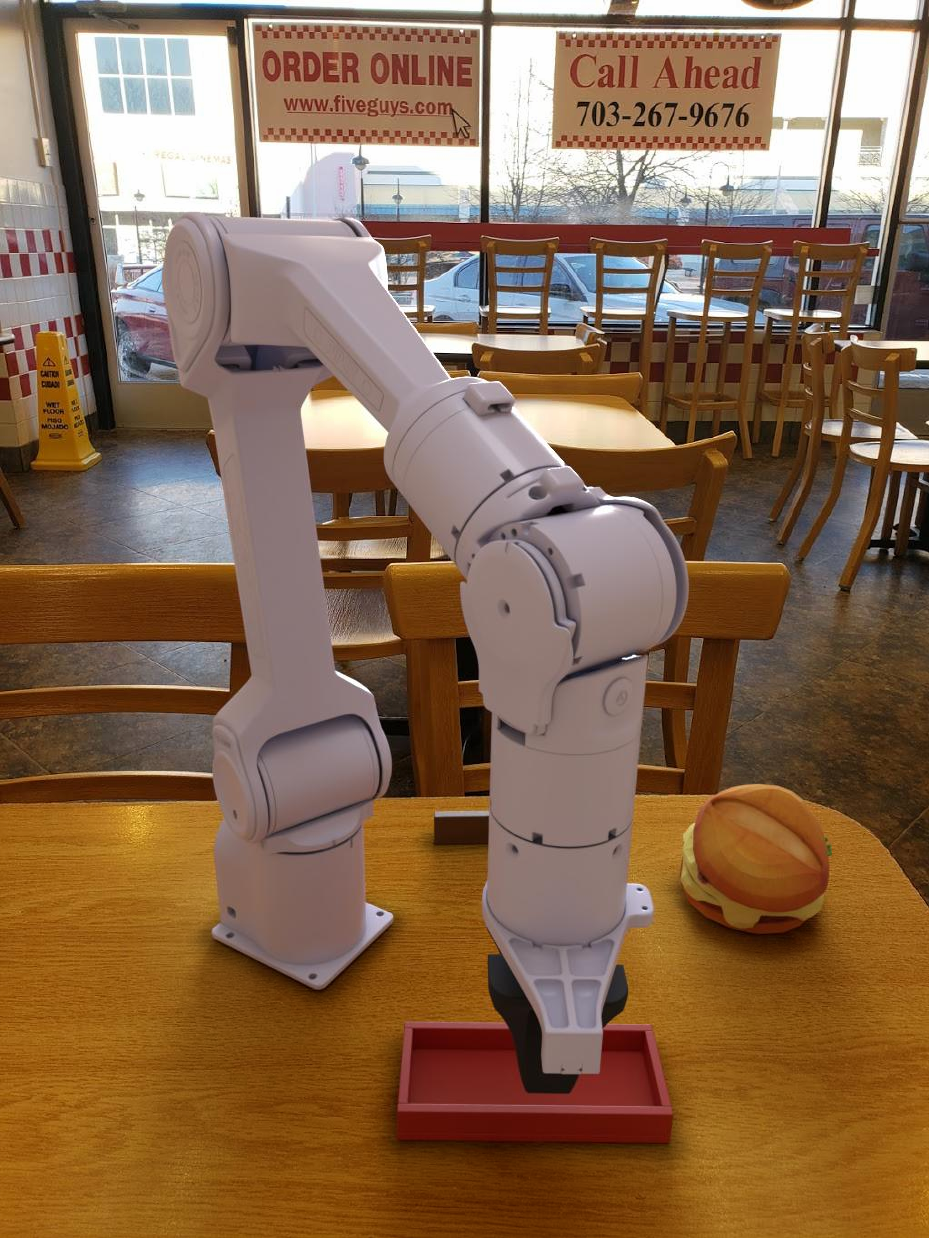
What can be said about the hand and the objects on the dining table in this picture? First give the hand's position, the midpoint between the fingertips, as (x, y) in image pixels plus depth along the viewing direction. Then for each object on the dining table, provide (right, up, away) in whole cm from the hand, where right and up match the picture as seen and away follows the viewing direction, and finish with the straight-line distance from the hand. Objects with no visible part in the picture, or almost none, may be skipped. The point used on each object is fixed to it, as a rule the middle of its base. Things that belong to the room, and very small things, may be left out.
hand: (545, 1065), depth 42 cm
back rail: (0, +3, +31) cm, 31 cm away
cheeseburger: (+17, 0, +24) cm, 29 cm away
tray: (0, -6, +9) cm, 10 cm away
